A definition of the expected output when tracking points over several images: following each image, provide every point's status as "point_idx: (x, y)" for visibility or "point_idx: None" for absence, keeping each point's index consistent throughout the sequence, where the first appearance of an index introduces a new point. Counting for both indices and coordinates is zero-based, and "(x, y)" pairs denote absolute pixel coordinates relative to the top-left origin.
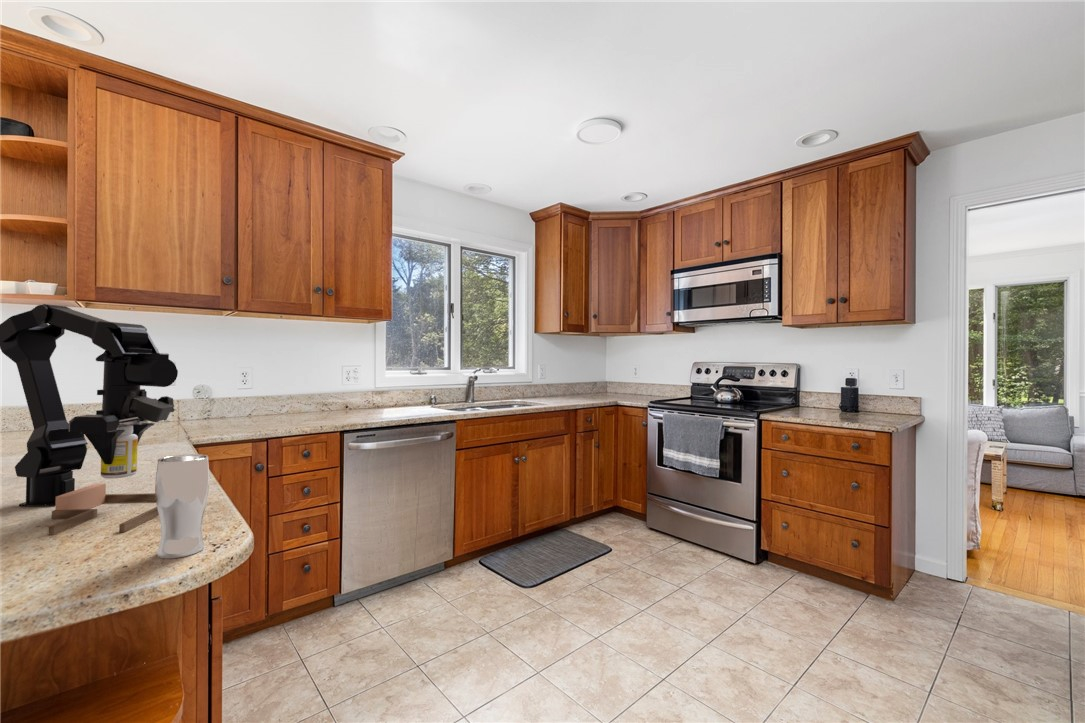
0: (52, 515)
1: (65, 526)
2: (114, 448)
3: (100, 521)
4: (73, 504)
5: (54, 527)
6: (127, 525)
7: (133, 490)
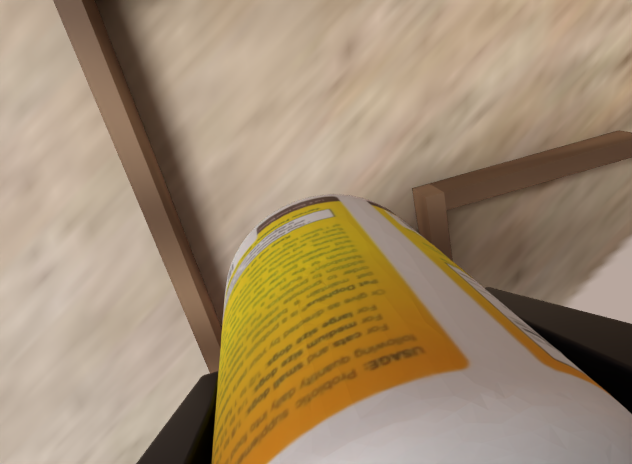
0: None
1: (579, 145)
2: (607, 346)
3: (469, 113)
4: None
5: None
6: None
7: (25, 413)
